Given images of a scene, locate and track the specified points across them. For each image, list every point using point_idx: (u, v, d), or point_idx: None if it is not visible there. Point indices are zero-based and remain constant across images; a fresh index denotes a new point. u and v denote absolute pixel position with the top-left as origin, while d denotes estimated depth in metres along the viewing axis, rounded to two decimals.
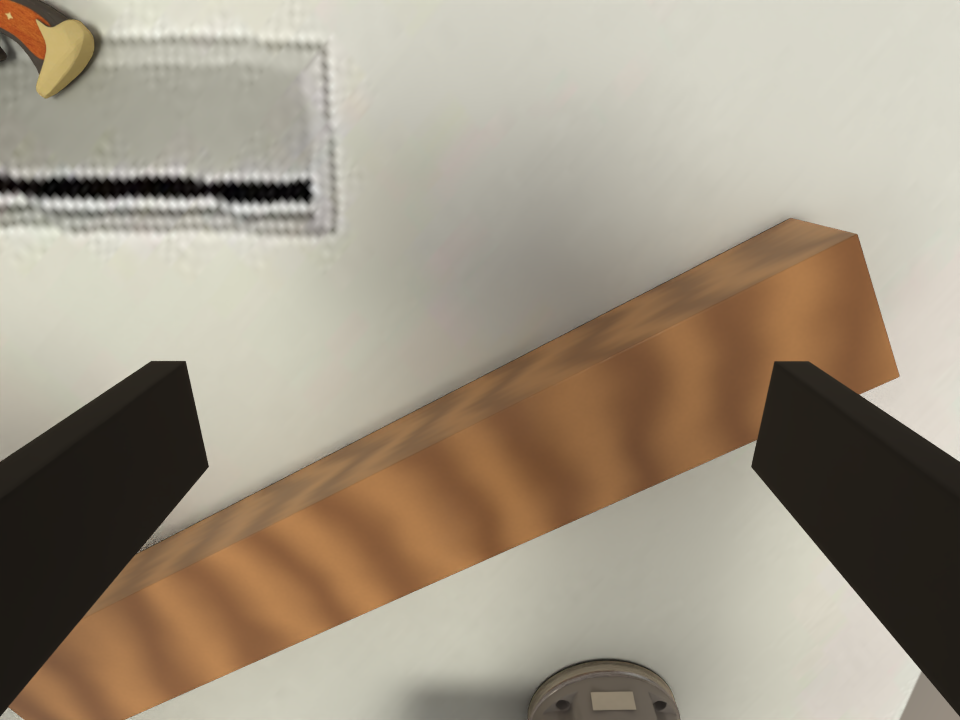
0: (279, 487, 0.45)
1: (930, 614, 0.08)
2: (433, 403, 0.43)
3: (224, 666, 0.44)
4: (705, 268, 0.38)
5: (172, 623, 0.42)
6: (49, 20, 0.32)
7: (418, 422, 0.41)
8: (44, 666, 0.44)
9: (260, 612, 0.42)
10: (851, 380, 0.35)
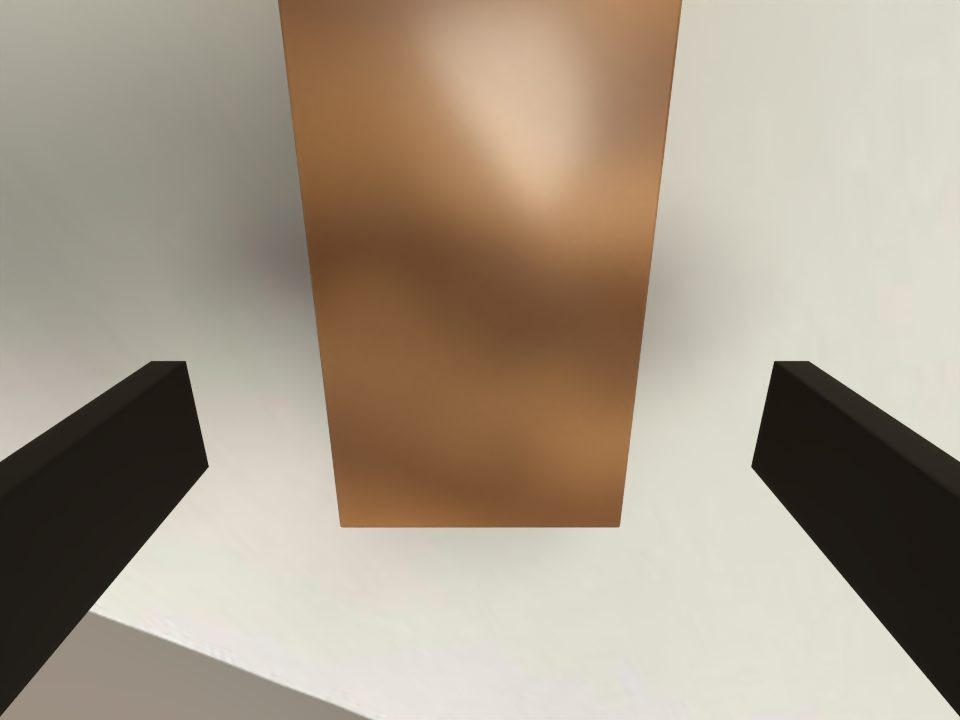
0: None
1: (930, 614, 0.08)
2: None
3: None
4: None
5: None
6: None
7: None
8: None
9: None
10: (368, 463, 0.19)
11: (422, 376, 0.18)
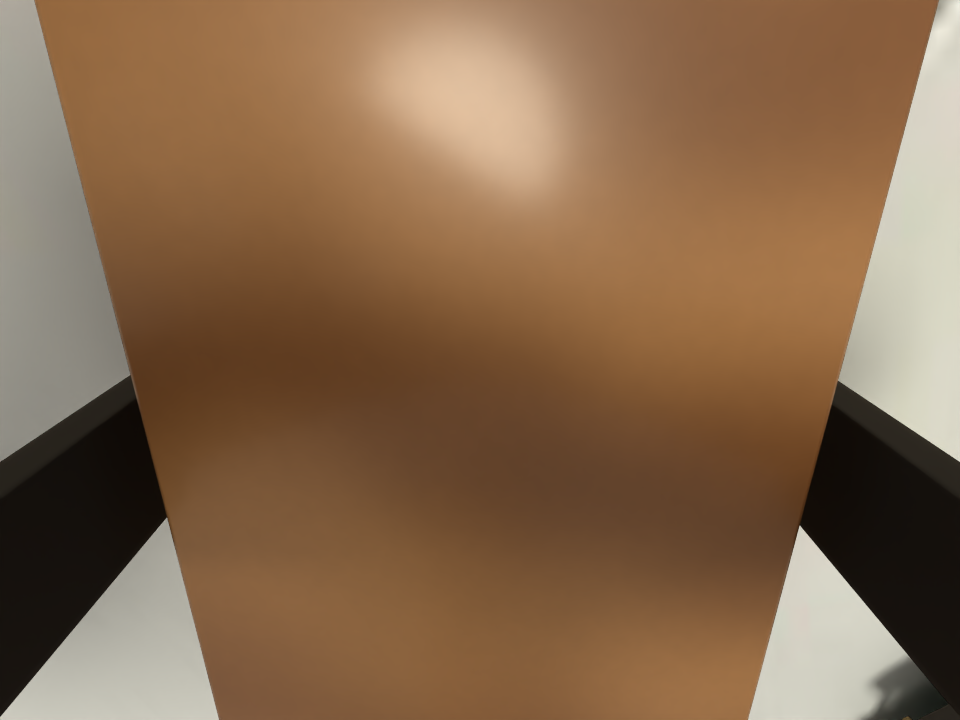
0: None
1: (929, 614, 0.08)
2: None
3: None
4: None
5: None
6: None
7: None
8: None
9: None
10: (282, 719, 0.11)
11: (372, 587, 0.09)
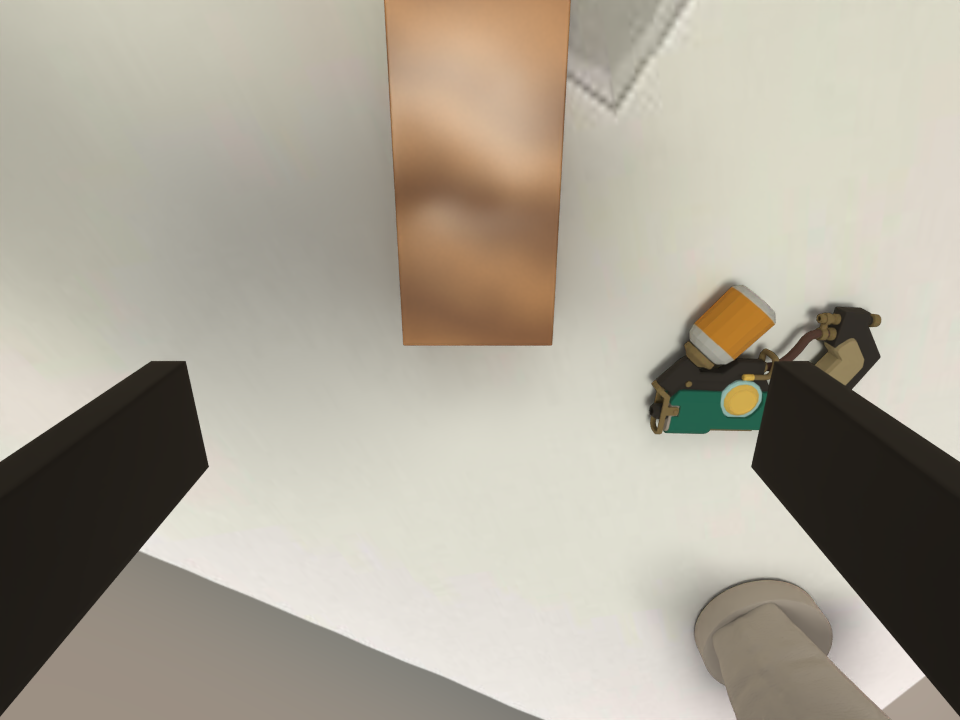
0: None
1: (930, 614, 0.08)
2: None
3: None
4: None
5: None
6: None
7: None
8: None
9: None
10: (419, 307, 0.36)
11: (448, 257, 0.35)
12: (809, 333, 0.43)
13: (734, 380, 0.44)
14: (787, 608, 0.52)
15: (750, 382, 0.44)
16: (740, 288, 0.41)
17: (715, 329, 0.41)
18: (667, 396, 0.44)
